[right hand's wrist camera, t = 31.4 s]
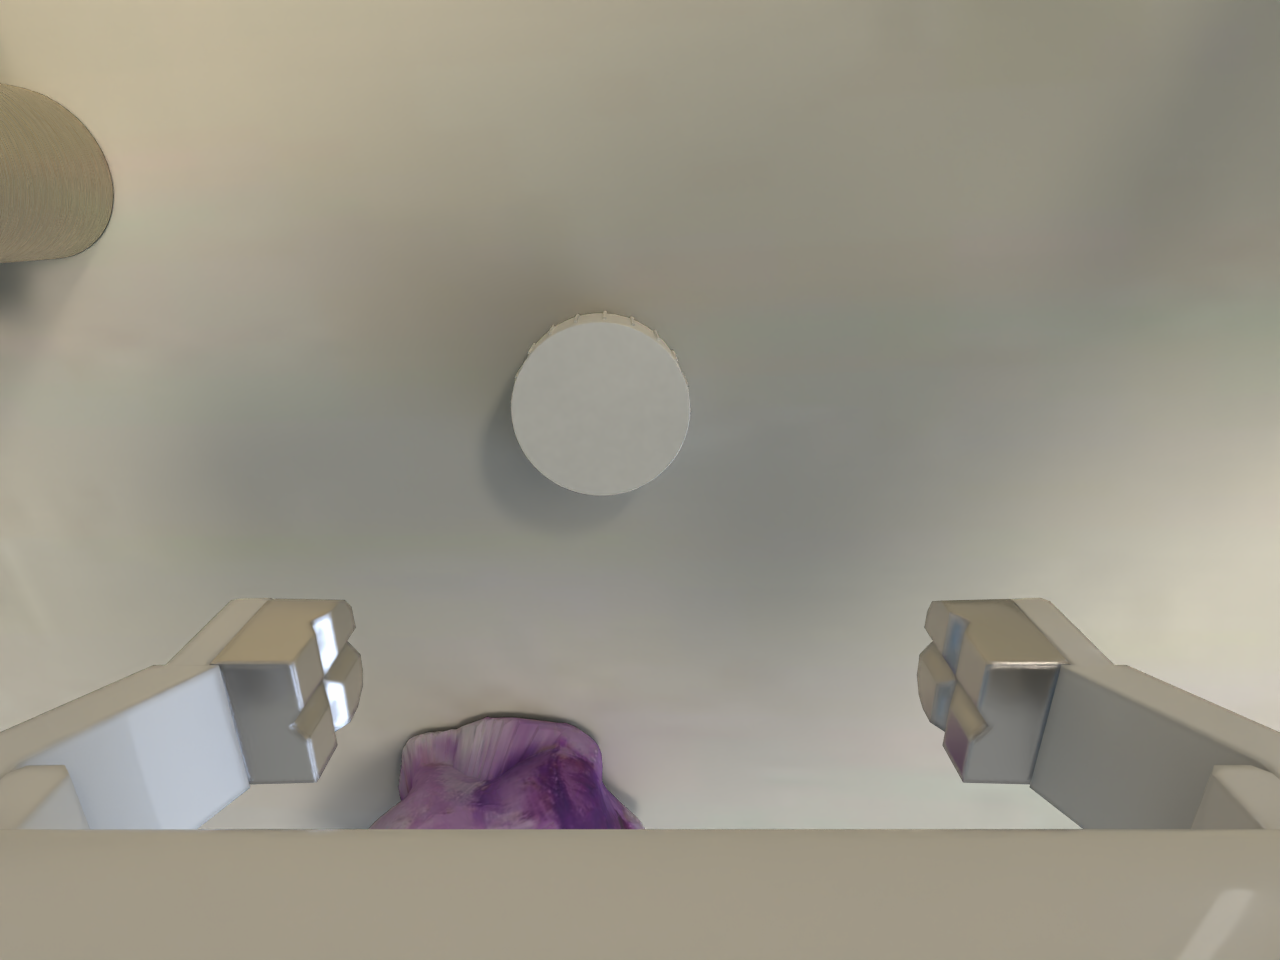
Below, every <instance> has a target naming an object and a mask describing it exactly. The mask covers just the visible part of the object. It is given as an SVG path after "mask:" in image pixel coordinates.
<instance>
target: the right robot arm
mask: <svg viewBox="0 0 1280 960" xmlns="http://www.w3.org/2000/svg"><path fill="white" fill-rule="evenodd" d="M355 628H356V626H355V621H354V617H353V612H352V607H351V606H350V605H349V604H348V603H347V602H346V601H345V600H321V599H272V598H248V599H236V600H231V601H230V602H229V603H228V604H227V605H226V606H225V607H224V608H223V609H222V610H221V611H220V612H219V613H218V614H217V615H216V616H215V617H214V618H213V619H212V620H211V621H210V622H209V623H208V624H207V625H206V626H205V627H204V628H203V629H202V630H201V631H200V632H198V633H197V634H196V635H195V636H194V637H193V638H192V639H191V640H190V641H189V642H188V643H187V644H186V645H185V646H184V647H183V648H182V649H181V650H180V651H179V652H178V653H177V654H176V655H175V656H174V657H173V658H172V659H171V660H170V661H169V662H168V663H167V664H166V665H153V666H150V667H148V668H146V669H144V670H141V671H139V672H137V673H134V674H132V675H130V676H128V677H125V678H123V679H121V680H118V681H116V682H114V683H112V684H109V685H107V686H105V687H102V688H100V689H98V690H96V691H93V692H91V693H89V694H86V695H84V696H82V697H80V698H77V699H75V700H73V701H71V702H68V703H66V704H64V705H61V706H59V707H57V708H55V709H52V710H50V711H48V712H45V713H43V714H41V715H39V716H36V717H34V718H32V719H29V720H27V721H25V722H23V723H20V724H18V725H16V726H13V727H11V728H9V729H7V730H4V731H2V732H0V960H1280V732H1278V731H1275V730H1273V729H1271V728H1268V727H1266V726H1264V725H1262V724H1259V723H1257V722H1255V721H1253V720H1250V719H1248V718H1246V717H1243V716H1241V715H1239V714H1237V713H1234V712H1232V711H1230V710H1227V709H1225V708H1223V707H1221V706H1218V705H1216V704H1214V703H1212V702H1209V701H1207V700H1205V699H1202V698H1200V697H1198V696H1196V695H1193V694H1191V693H1189V692H1187V691H1184V690H1182V689H1180V688H1177V687H1175V686H1173V685H1171V684H1168V683H1166V682H1164V681H1162V680H1159V679H1157V678H1155V677H1152V676H1150V675H1148V674H1146V673H1143V672H1141V671H1139V670H1136V669H1134V668H1132V667H1130V666H1127V665H1114V664H1113V663H1112V662H1111V661H1110V660H1109V659H1108V658H1107V657H1106V656H1105V655H1104V654H1103V653H1102V652H1101V651H1100V650H1099V649H1098V648H1097V647H1096V646H1095V645H1094V644H1093V643H1092V642H1091V641H1090V640H1089V639H1088V638H1087V637H1086V636H1085V635H1084V634H1083V633H1082V632H1081V631H1080V630H1079V629H1078V628H1077V627H1076V626H1075V625H1074V624H1073V623H1072V622H1071V621H1070V620H1069V619H1068V618H1067V617H1066V616H1064V615H1063V614H1062V613H1061V612H1060V611H1059V610H1058V609H1057V608H1056V607H1055V606H1054V605H1053V604H1052V603H1051V602H1050V601H1048V600H1045V599H1042V598H1023V599H989V600H949V601H932V603H931V605H930V607H929V609H928V611H927V615H926V621H925V626H924V628H925V629H926V631H927V632H928V634H929V636H930V637H931V639H932V640H933V641H932V642H931V643H930V644H929V645H928V646H927V647H926V649H925V650H924V651H923V652H922V653H921V654H920V656H919V663H918V671H917V681H918V693H919V697H920V701H921V704H922V707H923V710H924V712H925V714H926V716H927V717H928V719H929V721H930V722H931V723H932V724H934V725H935V726H937V727H938V728H940V729H941V730H943V731H945V735H944V740H943V747H944V749H945V751H946V752H947V754H948V756H949V758H950V760H951V761H952V763H953V765H954V767H955V769H956V770H957V772H958V774H959V776H960V778H961V779H962V781H963V782H964V783H1001V784H1030V788H1031V789H1033V790H1034V791H1035V792H1036V793H1038V794H1039V795H1040V796H1042V797H1043V798H1044V799H1045V800H1047V801H1048V802H1049V803H1051V804H1052V805H1053V806H1054V807H1056V808H1057V809H1058V810H1060V811H1061V812H1062V813H1063V814H1065V815H1066V816H1067V817H1069V818H1070V819H1071V820H1072V821H1074V822H1075V823H1076V824H1077V825H1079V826H1080V827H1081V828H1083V829H198V828H199V827H200V826H201V825H203V824H204V823H205V822H207V821H208V820H209V819H210V818H212V817H213V816H214V815H216V814H217V813H218V812H219V811H221V810H222V809H223V808H225V807H226V806H227V805H228V804H230V803H231V802H232V801H234V800H235V799H236V798H237V797H239V796H240V795H241V794H243V793H244V792H245V791H246V790H248V789H249V788H250V784H278V783H313V782H317V781H318V780H319V778H320V776H321V774H322V772H323V770H324V769H325V767H326V765H327V763H328V761H329V760H330V758H331V756H332V754H333V752H334V751H335V749H336V747H337V740H336V735H335V731H337V730H339V729H340V728H342V727H343V726H345V725H346V724H348V723H349V722H350V721H351V719H352V717H353V715H354V714H355V712H356V710H357V708H358V704H359V700H360V696H361V691H362V687H363V668H362V662H361V655H360V654H359V653H358V652H357V651H356V650H355V648H354V647H353V646H352V645H351V644H350V643H349V642H348V641H347V640H348V639H349V637H350V636H351V634H352V632H353V631H354V629H355Z"/></svg>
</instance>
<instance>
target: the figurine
mask: <svg viewBox="0 0 1280 960" xmlns="http://www.w3.org/2000/svg"><path fill="white" fill-rule="evenodd" d="M400 773H401V774H400V775H399V776H400V779H399V783H400V784H399V786H398V788H399V792H400V798H401V802H399V803H398V804H396V805H395V806H394V807H392V808H391V809H390V810H389V811H387V812H386V813H385V814H384V815H382V816H381V817H380V818H379V819H378V820H377V821H375V822H374V823H373V825H372V826H371V827H370V828H369V829H645V828H644V826H643V824H642V823H641V821H640V820H639V819H638V818H637V817H636V816H635V815H634V814H633V813H632V812H631V811H630V810H628V809H627V808H626V807H625V806H624V805H623V804H622V803H621V802H619V801H618V800H617V799H616V798H615V797H614V796H613V795H612V794H611V793H610V792H609V791H608V790H607V789H606V787H605V785H604V784H603V782H602V755H601V751H600V749H599V746H598V745H597V743H596V742H595V741H594V740H593V739H592V738H591V737H590V736H588V735H587V734H585V733H584V732H582V731H581V730H579V729H578V728H577V727H575V726H573V725H570V724H567V723H556V722H549V721H541V720H533V719H523V718H514V717H502V718H490V717H485V718H483V719H481V720H478V721H475V722H472V723H469V724H466V725H464V726H461V727H460V728H458V729H451V730H447V731H444V732H441V731H437V732H434V733H432V732H428V733H424V734H420V735H417V736H414V737H412V738H410V739H409V740H408V742H407V743H406V745H405V746H404V748H403V750H402V765H401V770H400Z"/></svg>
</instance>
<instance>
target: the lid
mask: <svg viewBox="0 0 1280 960" xmlns="http://www.w3.org/2000/svg"><path fill="white" fill-rule="evenodd" d="M527 354H528V357H527V358H526V360H525V362H524V363H523V365H522V366H521V367H520V369H519V370H518V372H517V373H516V375H515V377H514V379H516V381H515V383H514V387H513V392H512V397H511V403H510V406H511V418H512V424H513V429H514V433H515V435H516V438H517V441H518V443H519V445H520V447H521V449H522V451H523V453H524V454H525V456H526V457H527V459H528V460H529V461H530V462H531V464H532V465H533V466H534V467H535V468H536V469H537V470H538V471H539V472H540V473H541V474H542V475H544V476H545V477H546V478H548V479H549V480H551V481H552V482H554V483H555V484H557V485H559V486H561V487H563V488H565V489H568V490H571V491H573V492H577V493H581V494H586V495H594V496H610V495H617V494H622V493H626V492H629V491H632V490H635V489H637V488H640V487H642V486H644V485H645V484H647V483H649V482H651V481H652V480H653V479H655V478H656V477H657V476H659V475H660V474H661V473H662V472H663V471H664V470H665V469H666V468H667V467H668V466H669V465H670V464H671V462H672V461H673V460H674V459H675V457H676V456H677V454H678V452H679V451H680V449H681V447H682V445H683V442H684V440H685V438H686V434H687V431H688V427H689V420H690V414H691V410H690V399H689V392H688V388H687V387H689V384H688V382H687V380H686V378H685V375H684V374H682V372H681V369H680V367H679V365H678V363H677V362H678V358H677V356H676V354H675V352H674V350H670V349H669V347H668V346H667V345H666V343H665V342H664V341H663V340H662V339H661V338H660V337H659V335H658V333H657V331H656V330H654V331H652V330H651V329H649V328H648V327H647V326H645V325H643V324H641V323H640V322H638V321H636V320H634V317H632V316H631V317H630V318H628V317H625V316H621V315H617V314H609V313H607V311H603V313H592V314H585V315H579V314H576V316H575V317H573V318H571V319H568V320H566V321H564V322H562V323H560V324H558V325H557V326H555V325H552V326H551V328H550V330H549V331H548V332H547V333H546V334H545V335H544V336H543V337H542V338H541V339H540V340H539V341H538V342H537V343H536V344H535V343H533V344H532V346H531V348H530V349H529V351H528V352H527Z"/></svg>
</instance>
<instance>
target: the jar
mask: <svg viewBox="0 0 1280 960" xmlns="http://www.w3.org/2000/svg"><path fill="white" fill-rule="evenodd" d="M112 206H113V187H112V180H111V175H110V171H109V168H108V165H107V162H106V160H105V158H104V155H103V153H102V151H101V149H100V147H99V146H98V144H97V142H96V141H95V139H94V138H93V136H92V135H91V134H90V132H89V131H88V130H87V129H86V127H85V126H84V125H83V124H82V123H81V122H80V121H79V120H78V119H77V118H76V117H75V116H74V115H73V114H72V113H70V112H69V111H68V110H67V109H65V108H64V107H63V106H61V105H60V104H59V103H57V102H55V101H53V100H52V99H50V98H48V97H46V96H44V95H42V94H40V93H37V92H35V91H31V90H28V89H25V88H20V87H16V86H11V85H6V84H2V83H0V263H7V262H20V261H33V260H46V259H57V258H65V257H69V256H73V255H75V254H78V253H80V252H82V251H84V250H85V249H87V248H88V247H90V246H91V245H92V244H93V243H94V242H95V241H96V240H97V239H98V238H99V237H100V235H101V234H102V233H103V231H104V229H105V228H106V226H107V224H108V221H109V218H110V216H111V211H112Z"/></svg>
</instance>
